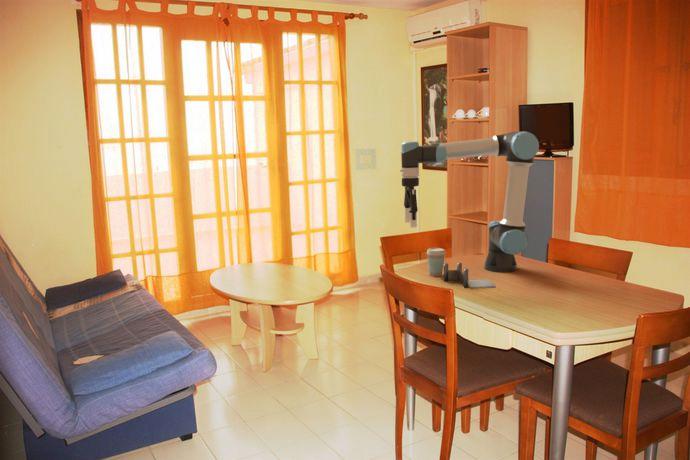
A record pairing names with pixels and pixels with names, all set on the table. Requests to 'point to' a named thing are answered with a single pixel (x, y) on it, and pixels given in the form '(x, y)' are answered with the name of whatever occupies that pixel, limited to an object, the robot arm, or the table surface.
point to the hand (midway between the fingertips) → (410, 224)
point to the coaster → (480, 284)
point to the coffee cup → (435, 261)
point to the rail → (456, 275)
